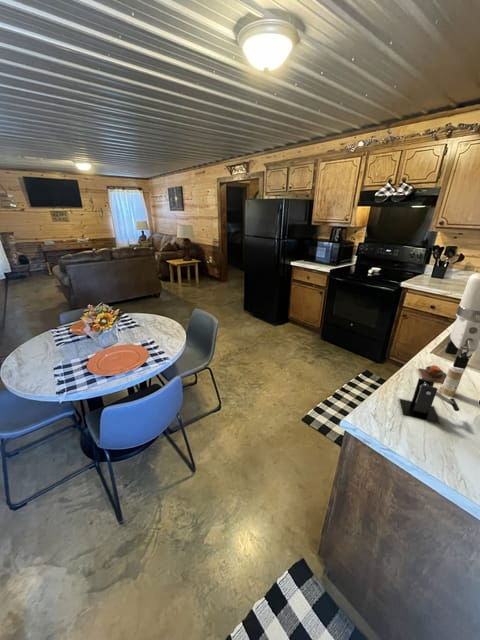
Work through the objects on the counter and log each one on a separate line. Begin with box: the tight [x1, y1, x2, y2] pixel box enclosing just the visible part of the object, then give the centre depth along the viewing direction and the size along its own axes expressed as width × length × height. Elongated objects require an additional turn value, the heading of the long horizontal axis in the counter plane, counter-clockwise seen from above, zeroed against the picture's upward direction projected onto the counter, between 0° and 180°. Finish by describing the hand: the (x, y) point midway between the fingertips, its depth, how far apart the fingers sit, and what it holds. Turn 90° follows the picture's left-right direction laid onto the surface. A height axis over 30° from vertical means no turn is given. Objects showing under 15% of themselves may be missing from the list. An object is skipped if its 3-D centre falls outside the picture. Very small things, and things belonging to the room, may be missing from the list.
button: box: [430, 364, 441, 373], centre depth 113 cm, size 3×3×2 cm
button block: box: [418, 365, 447, 384], centre depth 113 cm, size 10×9×4 cm
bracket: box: [399, 378, 441, 425], centre depth 92 cm, size 11×9×13 cm
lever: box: [420, 382, 460, 412], centre depth 89 cm, size 12×5×2 cm, turn 68°
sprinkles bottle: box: [440, 362, 466, 397], centre depth 101 cm, size 5×5×13 cm
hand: (454, 360), depth 89 cm, fingers open, 9 cm apart
